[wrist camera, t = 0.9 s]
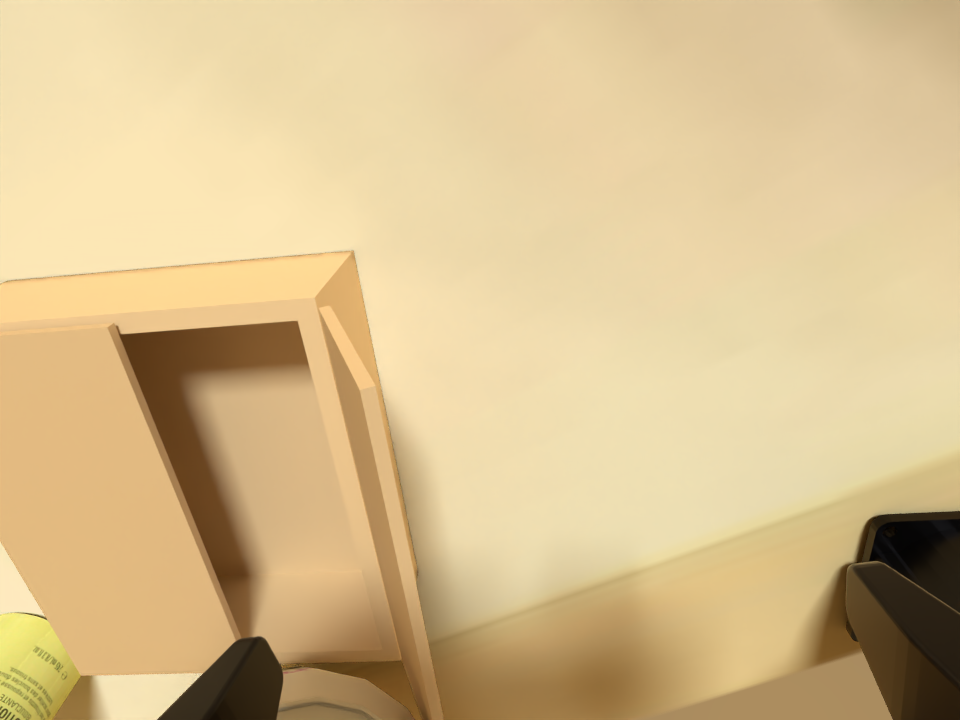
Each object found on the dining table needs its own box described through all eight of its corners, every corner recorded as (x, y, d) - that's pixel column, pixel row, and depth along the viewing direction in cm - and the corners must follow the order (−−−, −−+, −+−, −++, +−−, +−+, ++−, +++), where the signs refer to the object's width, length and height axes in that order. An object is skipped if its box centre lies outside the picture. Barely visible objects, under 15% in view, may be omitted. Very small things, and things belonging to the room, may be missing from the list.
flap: (318, 307, 15) (330, 305, 16) (402, 663, 22) (411, 660, 22) (359, 390, 11) (375, 385, 11) (450, 803, 17) (460, 798, 17)
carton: (353, 250, 19) (309, 303, 15) (417, 572, 26) (399, 672, 21) (7, 280, 20) (-122, 338, 16) (150, 582, 27) (82, 679, 23)
